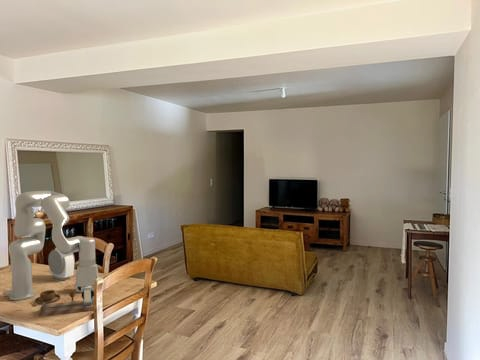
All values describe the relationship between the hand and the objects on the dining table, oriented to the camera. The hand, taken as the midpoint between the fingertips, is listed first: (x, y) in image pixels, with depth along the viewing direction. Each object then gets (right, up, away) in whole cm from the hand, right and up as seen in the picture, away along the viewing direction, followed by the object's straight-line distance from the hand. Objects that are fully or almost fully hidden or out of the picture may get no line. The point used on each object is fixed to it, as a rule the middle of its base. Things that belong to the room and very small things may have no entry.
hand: (88, 298), depth 177 cm
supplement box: (-12, -4, +25) cm, 28 cm away
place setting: (-22, -5, +7) cm, 24 cm away
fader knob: (0, -2, 0) cm, 2 cm away
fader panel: (-8, -5, -2) cm, 9 cm away
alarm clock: (-37, -3, +46) cm, 59 cm away
